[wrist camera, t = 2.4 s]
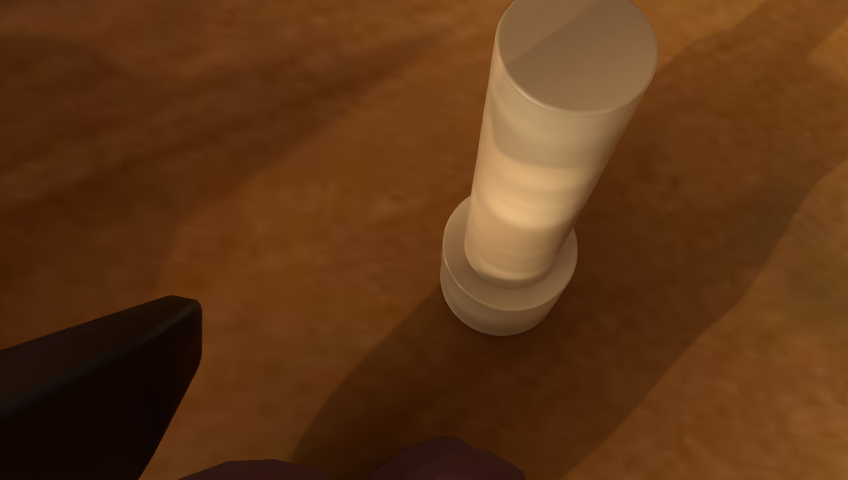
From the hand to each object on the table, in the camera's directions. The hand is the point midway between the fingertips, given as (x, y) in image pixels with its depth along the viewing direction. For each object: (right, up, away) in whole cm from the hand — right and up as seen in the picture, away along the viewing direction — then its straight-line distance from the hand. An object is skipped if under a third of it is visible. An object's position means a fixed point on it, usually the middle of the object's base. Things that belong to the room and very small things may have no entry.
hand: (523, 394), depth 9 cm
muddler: (+1, +1, +13) cm, 13 cm away
